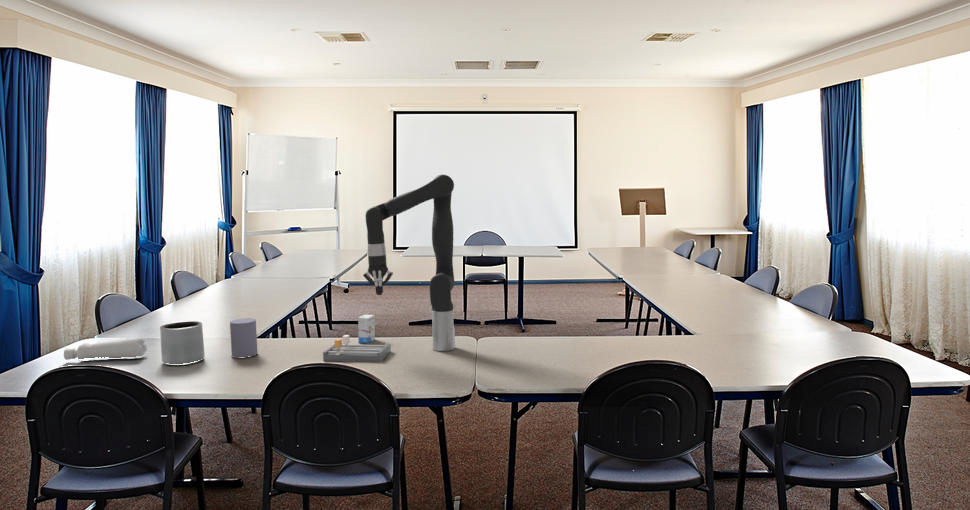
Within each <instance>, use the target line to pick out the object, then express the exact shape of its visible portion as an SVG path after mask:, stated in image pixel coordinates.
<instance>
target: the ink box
mask: <svg viewBox="0 0 970 510" xmlns="http://www.w3.org/2000/svg"><path fill="white" fill-rule="evenodd" d="M357 320H358V321H357V323H358V324H357V325H358V326H357V327H358V344H370V343H371V342H373V341H374V340H375V339H376V338H375V337H376V335H375V334H376V333H375V332H376V331H375V330H376V329H375V327H376V325H375V314H363V315H360V316H358V319H357Z"/></svg>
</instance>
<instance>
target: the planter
mask: <svg viewBox="0 0 970 510" xmlns="http://www.w3.org/2000/svg"><path fill="white" fill-rule="evenodd" d="M159 332H160V334H159V335H160V349H161V350H160V352H161V353H160V355H161V363H162V362H164V363H169V364H183V363H190V362H194V361H198V360H201V359H203V358H204V359H205V343H204V330H203V323H202V322H201V321H198V320H197V321H196V320H185V321H174V322H169V323H165V324H162V325H161V326H160V327H159ZM204 359H203V360H204ZM201 361H202V360H201ZM164 363H163V364H164Z"/></svg>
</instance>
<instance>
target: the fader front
mask: <svg viewBox="0 0 970 510" xmlns="http://www.w3.org/2000/svg"><path fill="white" fill-rule="evenodd" d="M334 344H335V348H337V351H340V347H342V345H343V338H336V339H335V340H334Z"/></svg>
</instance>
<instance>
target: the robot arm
mask: <svg viewBox="0 0 970 510" xmlns="http://www.w3.org/2000/svg"><path fill="white" fill-rule="evenodd" d="M454 188H455V183H454V180H453V179H452V177H450V175H447V174H439V175H437V176H435V177H434V178H433V179H432V180H430V181H429V182H428V183H426V184H423V186H420V187H419V188H416V189H414V190H410V191H408V192H405V193H402V194H399V195H398V196H395V197H393V198H391V199H389V200H387V201H385V202H382V203H380V204H378V205H375V206H371V207H369V208H368V209H367V210H366V211H365V225H366V230H367V231H366V232H367V233H366V236H367V237H366V238H367V259H368V260H367V261H368V269H367V271H366V272H365V273H363V277H364V278H365V280H366V281H367V282H368V283H369V284H370V285H371V286H374V287H375V293H376V295H377V296H381V295H383V293H384V286H385V285H387V284H388V282H390V280H391V278H392V276H393V275H394V272H393V271H390V270H389V268H388V266H387V251H386V249H387V248H386V243H385V233H384V227H383V225H384V224H383V223H384V222H383V221H385V220H387V219H389V218H391V217H393V216H397V215H400V214H402V213H404V212H406V211H408V210H411V209H412V208H415V207H416V206H419V205H420V204H422V203H424V202H425V203H426V202H427V201H430V200H433V213H432V220H431V221H432V224H431V244H432V249H433V252H434V257H435V263H436V266H435V275H434V276H432V277H431V278H430V281H429V299H430V300H429V301H430V305H431V320H432V321H431V322H432V324H431V326H432V330H431V331H432V332H431V333H432V350H434V351H437V352H449V351H453V350H455V348H456V336H455V335H456V334H455V333H456V331H455V328H456V327H455V325H454V304H453V302H452V290H453V288H454V287H455V274H454V265H453V264H454V262H453V257H454V256H453V255H454V221H453V215H452V205H451V204H452V194H453V191H454V190H455V189H454ZM385 276H386V278H385ZM384 278H385V279H384Z"/></svg>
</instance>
